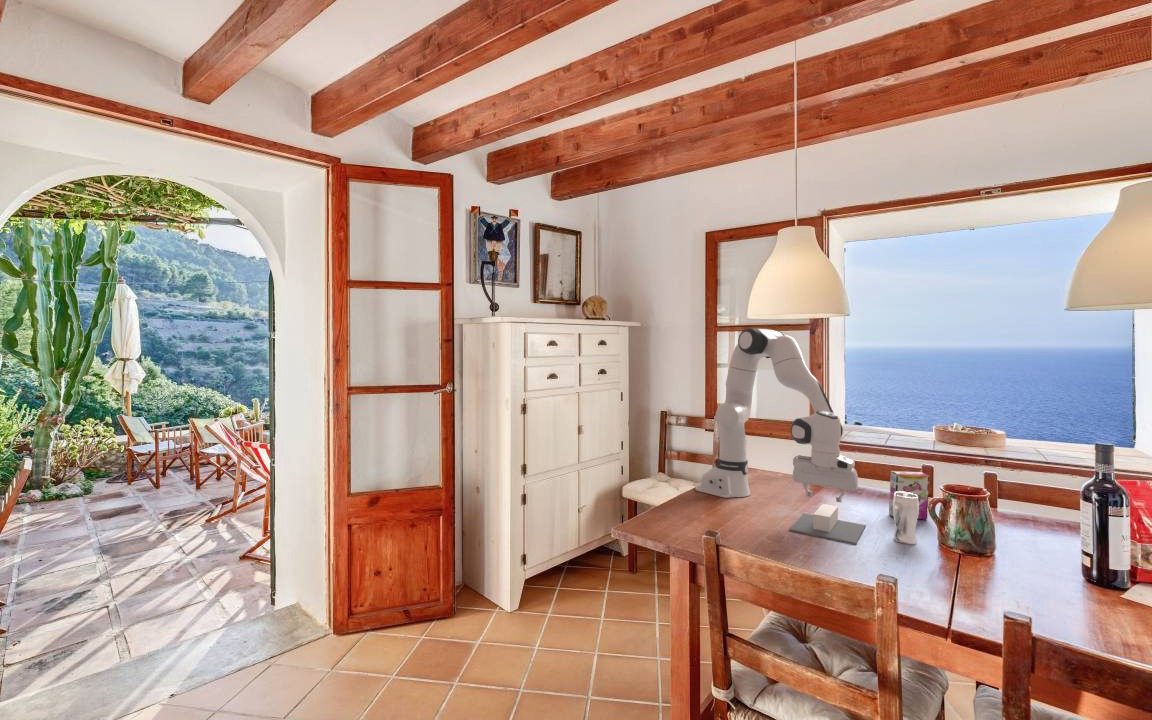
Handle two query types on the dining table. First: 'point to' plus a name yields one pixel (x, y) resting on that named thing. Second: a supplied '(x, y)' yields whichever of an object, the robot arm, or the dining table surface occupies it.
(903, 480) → the candy bar box
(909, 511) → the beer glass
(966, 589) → the dining table surface
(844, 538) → the rubber mat
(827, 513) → the white block
